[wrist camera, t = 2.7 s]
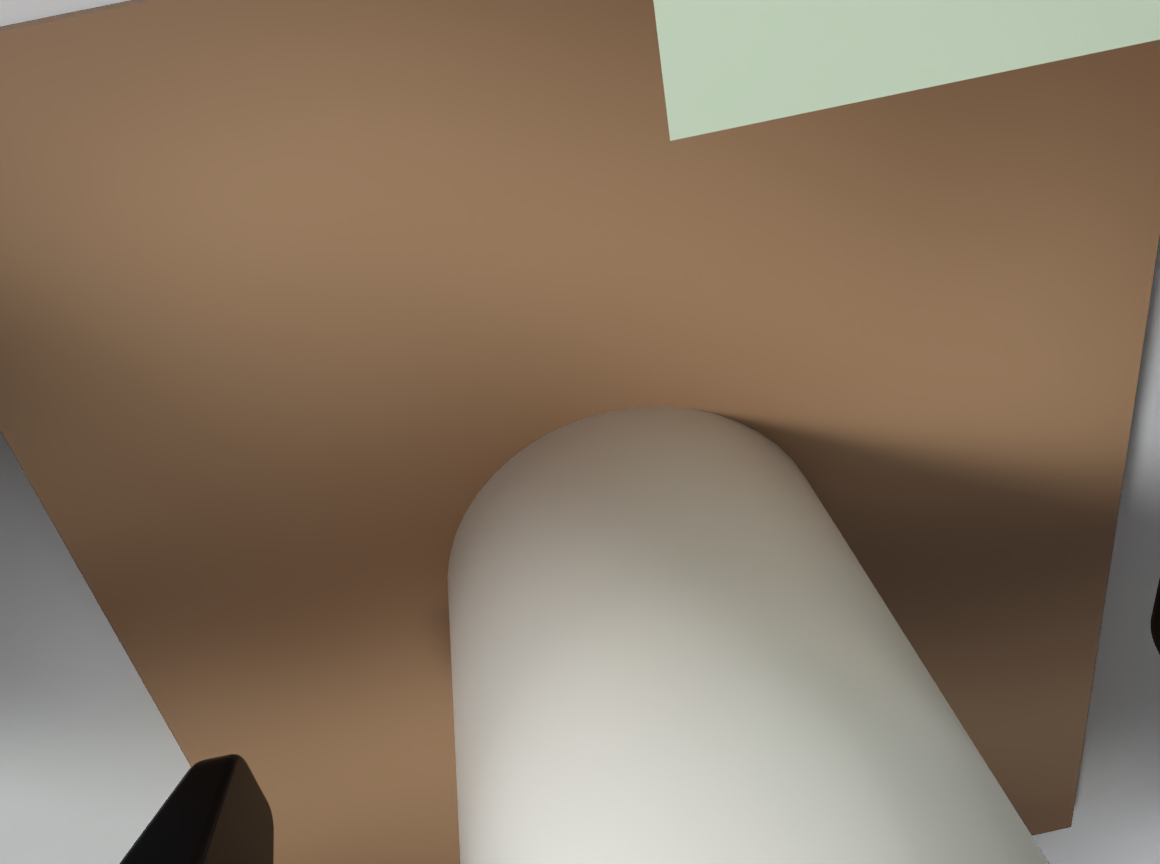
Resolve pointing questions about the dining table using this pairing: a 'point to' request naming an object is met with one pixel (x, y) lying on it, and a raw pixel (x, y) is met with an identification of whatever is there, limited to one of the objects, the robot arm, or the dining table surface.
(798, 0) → the green mat
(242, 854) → the robot arm
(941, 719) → the bottle
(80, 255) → the walnut mat
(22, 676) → the dining table surface
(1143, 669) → the dining table surface
